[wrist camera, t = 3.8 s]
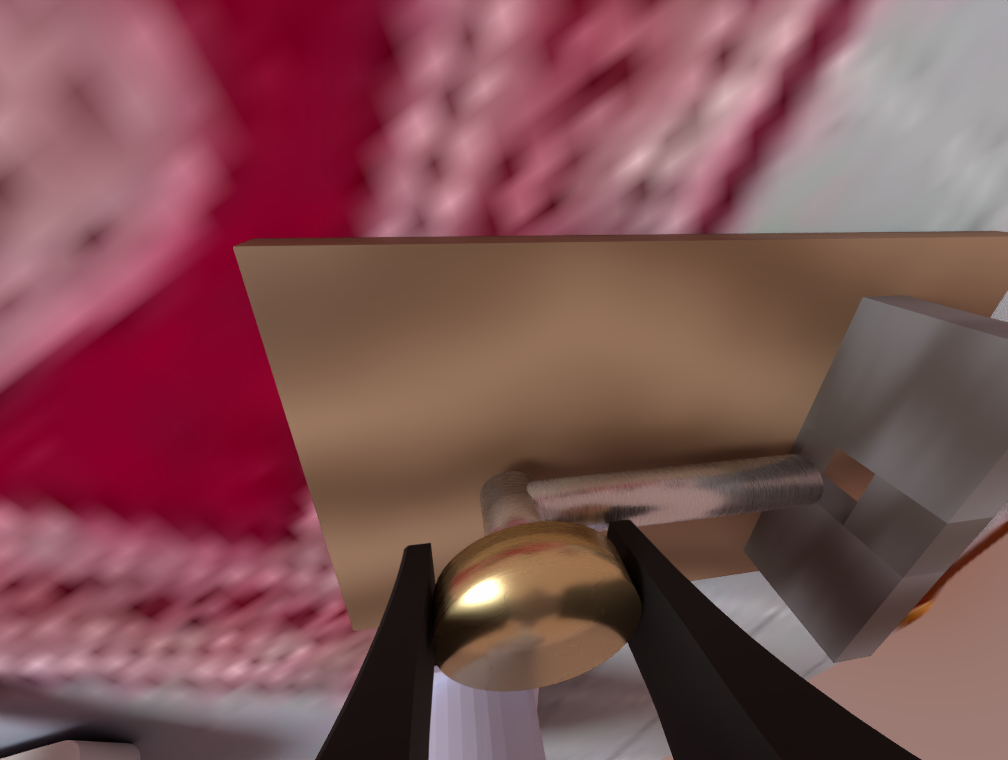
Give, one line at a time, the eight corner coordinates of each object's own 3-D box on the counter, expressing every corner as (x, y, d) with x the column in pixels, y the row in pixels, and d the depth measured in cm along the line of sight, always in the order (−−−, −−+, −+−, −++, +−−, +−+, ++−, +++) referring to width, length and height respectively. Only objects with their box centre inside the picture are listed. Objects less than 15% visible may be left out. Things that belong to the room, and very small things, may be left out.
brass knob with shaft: (758, 509, 16) (870, 627, 12) (439, 549, 14) (440, 706, 10) (805, 407, 13) (967, 511, 9) (427, 439, 12) (423, 585, 7)
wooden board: (812, 540, 21) (936, 662, 16) (358, 604, 18) (325, 785, 12) (995, 230, 13) (1352, 269, 8) (254, 238, 10) (53, 312, 5)
